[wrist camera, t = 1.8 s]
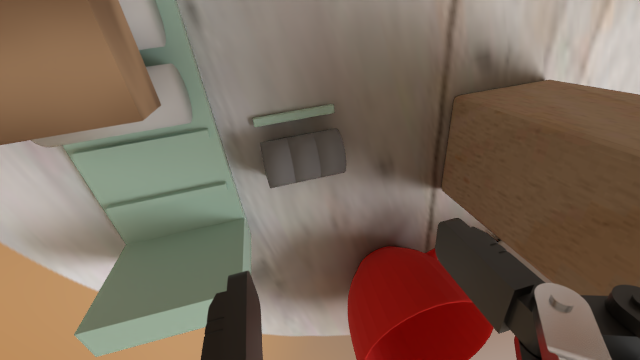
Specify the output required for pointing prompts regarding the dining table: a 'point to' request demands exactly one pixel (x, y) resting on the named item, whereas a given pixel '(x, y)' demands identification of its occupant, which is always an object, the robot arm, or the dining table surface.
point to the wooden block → (553, 178)
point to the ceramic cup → (411, 309)
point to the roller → (303, 157)
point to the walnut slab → (69, 69)
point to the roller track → (161, 197)
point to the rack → (293, 115)
